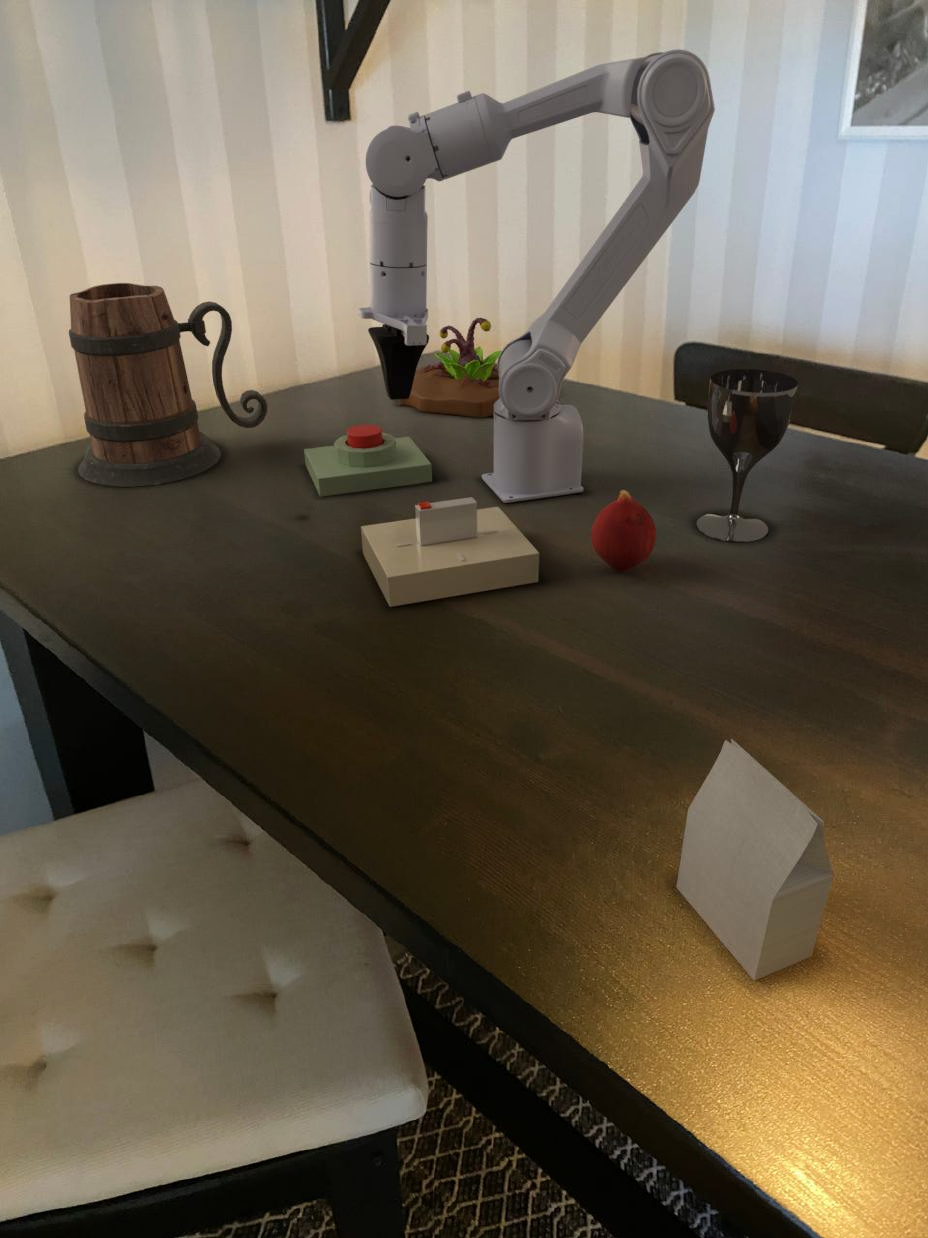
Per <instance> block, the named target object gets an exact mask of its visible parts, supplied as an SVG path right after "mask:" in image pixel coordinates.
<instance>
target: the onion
mask: <svg viewBox="0 0 928 1238" xmlns="http://www.w3.org/2000/svg"><path fill="white" fill-rule="evenodd" d="M590 539H591V545H592V547H593V549H594V551H595V554H596V555H597V556H598V557H599V558H600V559H601V560H602V561H603V562H604V563H605V564H607V566H609V567H610V568H611V569H612V570H613V571H615V572H617V573H623V572H625V571H628V570H631V569H632V568H635V567H637V566H639V565H640V564H642V563H643V562H645V561H646V560H648V558H649V557H650V555H651V554H652V552H653V550H654V548H655V545H656V540H657V527H656V523H655V521H654V519H653V516H652V515H651V514H650V512H649V511H648V510H647V509H646V508H645V507H644V505H642V504H641V503H640V502H639V501H637V500H635V498H634V497H632V496H631V495H630V492H629V491H627V490H625V489H621V490H620V491H619V495H618V498H617V499H616V500H613V501H612V502H610V503H608V505H606V506H605V507H603V508H602V509H601V510H600V512H599V513H598V514H597V516H596V517H595V520H594V521H593V524H592V526H591V531H590Z"/></svg>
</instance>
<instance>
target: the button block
mask: <svg viewBox="0 0 928 1238" xmlns="http://www.w3.org/2000/svg"><path fill="white" fill-rule="evenodd" d="M382 440H383V444H382V445H380V446H377V447H374V448H366V449H361V448H353V447H350V446H348V439H347V434H345V435H342V436H339V437H338V438H337V439H336V440H335V441H334V445H327V446H319V447H309V448H304V449H303V453H304V454H303V455H304V462H305V467H306V469H307V472H308V474H309V476H310V478H311V480H312V483H313V484H314V487H315V489H316V491H317V493H318V495H319V497H320V498H323V497H329V496H335V495H337V496H338V495H345V494H352V493H360V492H367V491H374V490H375V491H376V490H381V489H389V488H396V487H397V488H398V487H403V486H412V485H419V484H427V483H432V482H433V466H432V463H431V462H430V460H429V459H428V458H427V457H426V456H425V454H424V452H422V450H421V448H419V447H418V446H417V444H416V443H415V442H414V441H413V439H412V438H411V437H410V436H403V437H394V436H393V435H391V434H389V433H385V432H382Z"/></svg>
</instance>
